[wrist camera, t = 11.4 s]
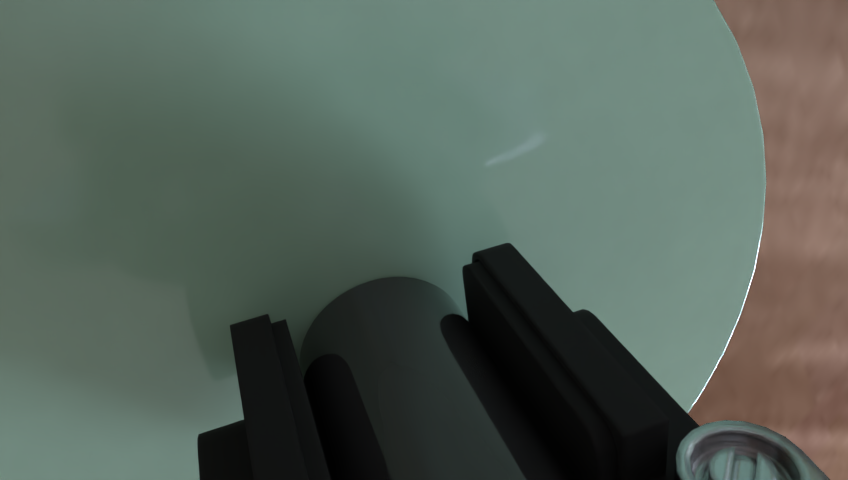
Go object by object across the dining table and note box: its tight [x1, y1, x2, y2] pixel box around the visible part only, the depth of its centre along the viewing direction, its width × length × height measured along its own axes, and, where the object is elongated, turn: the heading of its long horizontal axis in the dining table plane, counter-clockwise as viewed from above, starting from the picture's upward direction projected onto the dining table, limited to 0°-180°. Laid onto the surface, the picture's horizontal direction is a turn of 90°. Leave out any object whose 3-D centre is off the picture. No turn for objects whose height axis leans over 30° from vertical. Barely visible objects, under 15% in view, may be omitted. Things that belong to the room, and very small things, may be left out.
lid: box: [0, 0, 766, 480], centre depth 9 cm, size 14×14×6 cm
